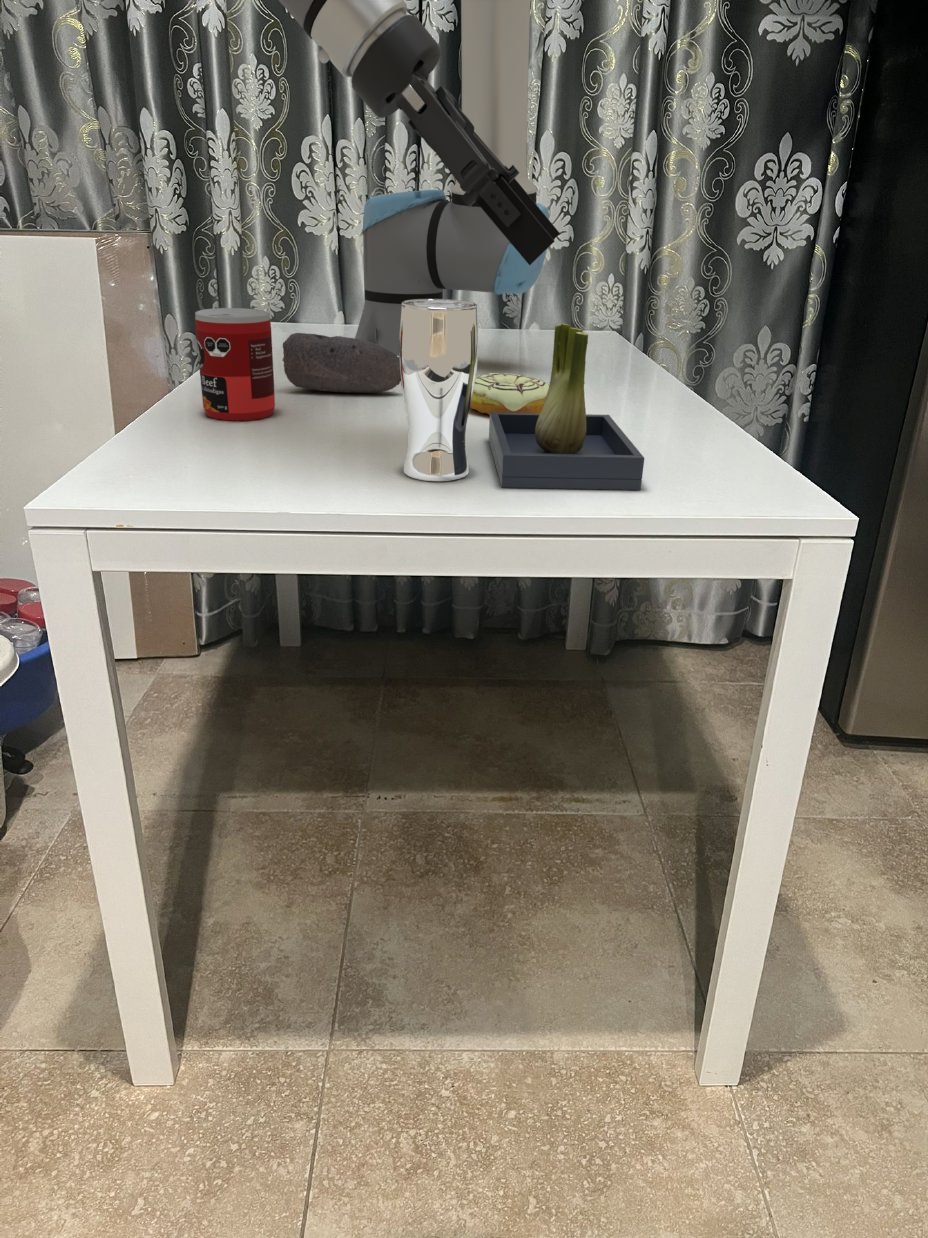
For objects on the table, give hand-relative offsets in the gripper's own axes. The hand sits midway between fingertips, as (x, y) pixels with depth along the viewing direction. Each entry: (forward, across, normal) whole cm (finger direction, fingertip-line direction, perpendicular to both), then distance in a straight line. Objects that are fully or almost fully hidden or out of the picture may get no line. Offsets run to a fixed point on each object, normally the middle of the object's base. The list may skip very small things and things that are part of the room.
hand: (546, 248), depth 81 cm
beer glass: (+8, +6, -20) cm, 22 cm away
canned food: (-10, -12, -38) cm, 41 cm away
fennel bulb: (+15, 0, -11) cm, 19 cm away
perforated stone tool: (-4, -26, -32) cm, 42 cm away
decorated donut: (+11, -22, -17) cm, 30 cm away
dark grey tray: (+16, 0, -12) cm, 20 cm away
